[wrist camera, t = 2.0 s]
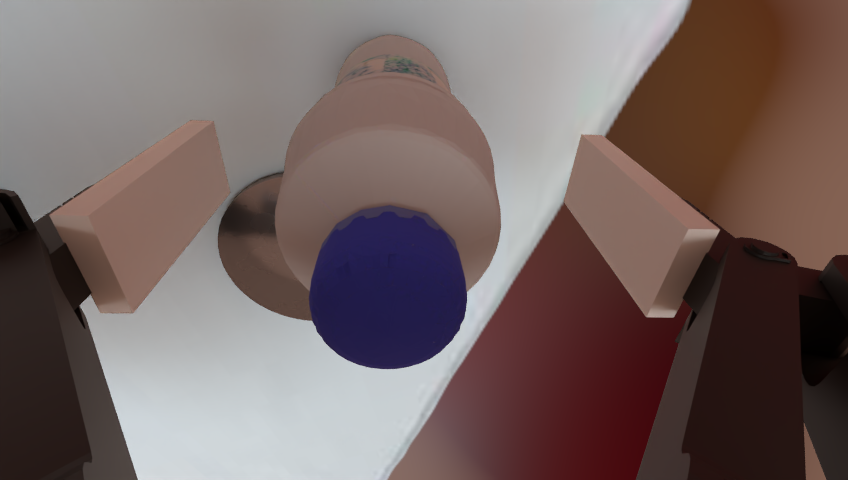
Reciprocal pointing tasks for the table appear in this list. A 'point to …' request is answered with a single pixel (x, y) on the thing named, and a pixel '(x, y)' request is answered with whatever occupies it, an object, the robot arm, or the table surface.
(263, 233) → the flange disc
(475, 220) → the bottle
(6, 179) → the table surface
